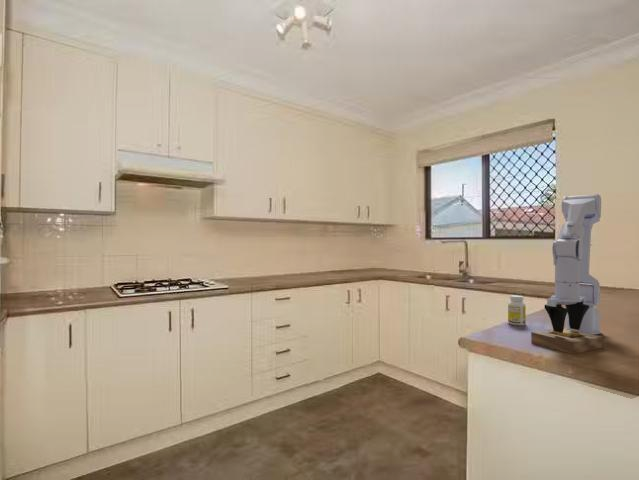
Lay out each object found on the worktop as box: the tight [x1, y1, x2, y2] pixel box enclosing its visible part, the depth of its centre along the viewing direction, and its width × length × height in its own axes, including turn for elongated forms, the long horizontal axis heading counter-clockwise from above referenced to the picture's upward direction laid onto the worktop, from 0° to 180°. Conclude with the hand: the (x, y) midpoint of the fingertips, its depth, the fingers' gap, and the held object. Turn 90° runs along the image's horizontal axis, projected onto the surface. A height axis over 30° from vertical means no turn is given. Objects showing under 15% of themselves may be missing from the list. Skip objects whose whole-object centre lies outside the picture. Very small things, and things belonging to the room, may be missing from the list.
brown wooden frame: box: [530, 327, 604, 355], centre depth 100 cm, size 14×11×3 cm
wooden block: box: [553, 329, 580, 338], centre depth 100 cm, size 4×4×4 cm
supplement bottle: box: [507, 294, 527, 326], centre depth 125 cm, size 5×5×10 cm
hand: (566, 330), depth 100 cm, fingers open, 7 cm apart
